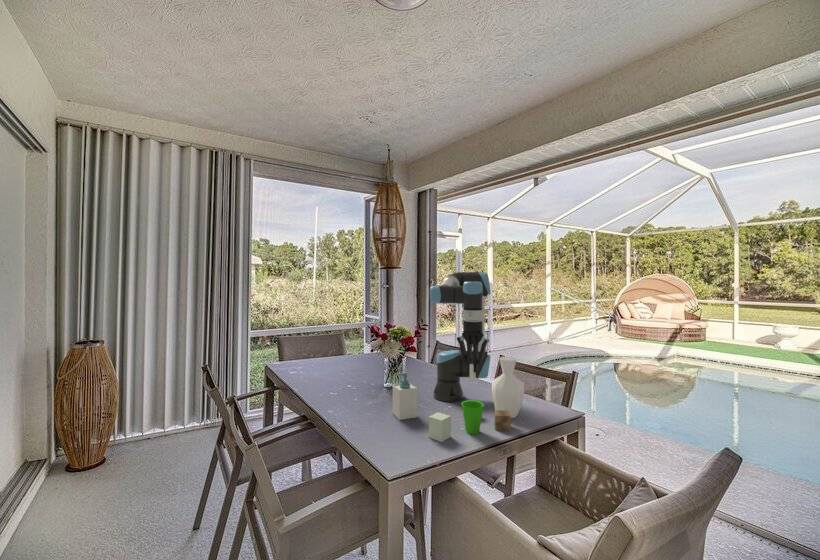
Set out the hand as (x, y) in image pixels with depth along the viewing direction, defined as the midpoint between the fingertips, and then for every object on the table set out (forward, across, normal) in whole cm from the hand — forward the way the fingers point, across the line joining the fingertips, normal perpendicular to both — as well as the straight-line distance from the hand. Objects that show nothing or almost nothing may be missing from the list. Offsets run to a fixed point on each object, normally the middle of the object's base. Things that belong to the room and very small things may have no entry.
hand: (472, 380), depth 145 cm
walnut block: (+21, +9, +10) cm, 24 cm away
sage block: (+20, -9, -11) cm, 25 cm away
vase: (+21, +7, +25) cm, 33 cm away
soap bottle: (+21, -32, +1) cm, 38 cm away
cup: (+21, 0, 0) cm, 21 cm away
